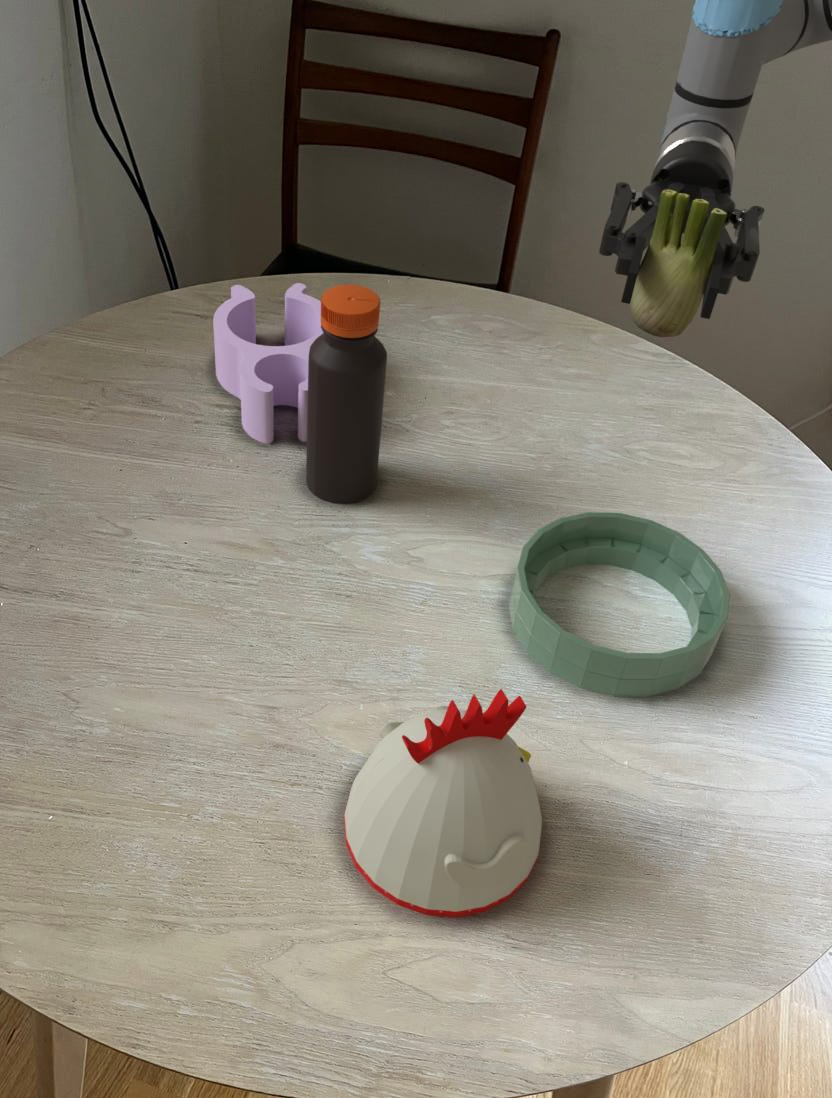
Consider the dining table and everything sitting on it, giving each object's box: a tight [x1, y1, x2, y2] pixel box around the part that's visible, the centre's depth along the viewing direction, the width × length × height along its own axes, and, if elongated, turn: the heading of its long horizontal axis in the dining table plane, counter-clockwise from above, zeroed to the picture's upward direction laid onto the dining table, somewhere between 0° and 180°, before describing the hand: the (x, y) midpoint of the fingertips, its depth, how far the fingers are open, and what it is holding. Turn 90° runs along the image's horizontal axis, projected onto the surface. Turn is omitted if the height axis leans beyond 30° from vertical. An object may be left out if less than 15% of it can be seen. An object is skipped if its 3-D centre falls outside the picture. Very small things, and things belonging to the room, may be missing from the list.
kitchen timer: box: [343, 688, 543, 918], centre depth 72 cm, size 14×14×15 cm
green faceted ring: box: [508, 511, 731, 698], centre depth 90 cm, size 17×17×6 cm
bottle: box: [305, 284, 388, 505], centre depth 96 cm, size 7×7×20 cm
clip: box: [212, 282, 323, 445], centre depth 111 cm, size 20×12×7 cm, turn 8°
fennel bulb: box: [629, 189, 727, 338], centre depth 91 cm, size 6×5×12 cm
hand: (669, 295), depth 88 cm, fingers closed on fennel bulb, 6 cm apart
